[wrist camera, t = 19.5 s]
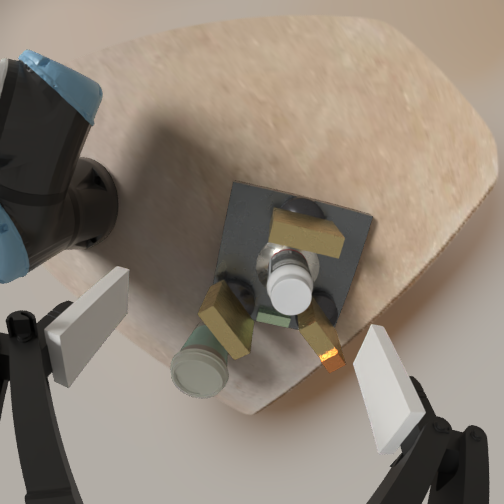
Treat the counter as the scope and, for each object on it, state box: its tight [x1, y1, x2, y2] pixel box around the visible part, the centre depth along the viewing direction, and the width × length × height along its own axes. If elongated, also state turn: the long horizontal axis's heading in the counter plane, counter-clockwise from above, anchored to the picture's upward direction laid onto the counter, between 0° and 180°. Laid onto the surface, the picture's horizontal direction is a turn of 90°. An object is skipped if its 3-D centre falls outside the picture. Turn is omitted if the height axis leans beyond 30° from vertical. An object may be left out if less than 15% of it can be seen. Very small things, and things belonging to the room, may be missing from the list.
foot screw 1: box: [198, 279, 255, 360], centre depth 43 cm, size 8×6×10 cm
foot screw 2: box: [268, 196, 345, 259], centre depth 38 cm, size 8×6×10 cm
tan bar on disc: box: [295, 291, 346, 373], centre depth 42 cm, size 8×6×11 cm
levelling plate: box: [213, 180, 373, 330], centre depth 46 cm, size 20×20×3 cm
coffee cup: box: [170, 322, 229, 398], centre depth 47 cm, size 9×8×12 cm
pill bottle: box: [267, 249, 313, 315], centre depth 40 cm, size 6×6×10 cm
